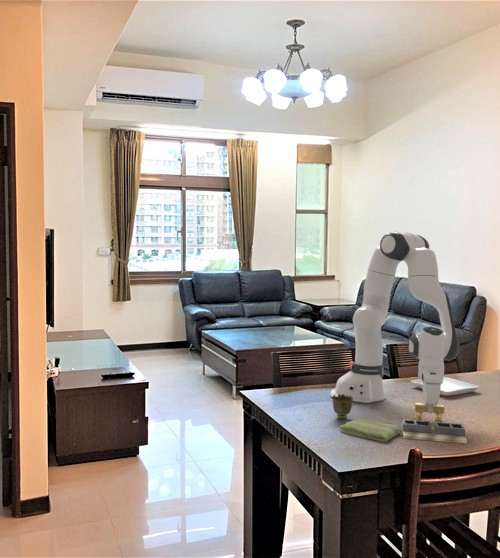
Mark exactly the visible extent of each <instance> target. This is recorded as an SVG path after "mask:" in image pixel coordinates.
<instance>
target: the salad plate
mask: <svg viewBox="0 0 500 558" xmlns="http://www.w3.org/2000/svg"><path fill="white" fill-rule="evenodd" d="M421 380H422V379H421V378H419V379H414V380H413V379H412V380H410V383H411V384H412V385H413V386H415V387H417V388H420V389H421V388H422V390H423V382H422V381H421ZM479 388H480V386H478V385H476V384H472V383H470V382H469V383H468V382H466V381H462V380H458V379H455V378H454V379H453V378H451V377H446V376H444V379H443V384H441V389H440V396H445V397H451V396H455V395H456V396H457V395H462V394H467V393H472V392H475V391H476V390H478V389H479Z"/></svg>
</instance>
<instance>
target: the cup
mask: <svg viewBox="0 0 500 558" xmlns="http://www.w3.org/2000/svg"><path fill="white" fill-rule="evenodd" d="M331 398H332V409H333V411H334V413H335V414H336V417H337V418H338V419H340V420H346V419H347V418H348V415H350V413H351V411H352V407H353V402H354V401H353V398H352V396H349V397H348V395H347V396H345V395H344V394H342V395H340V394H338V397H337V396H335V395H334V396H332V397H331Z"/></svg>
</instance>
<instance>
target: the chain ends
mask: <svg viewBox="0 0 500 558" xmlns="http://www.w3.org/2000/svg"><path fill="white" fill-rule="evenodd" d="M401 423H402V427H401V430H402V429H403V431H405V432H417V433H428V434H431V425H432V423H431V421H428V420H423V421H419V420H415V419H406V418H405V419H403V418H402V419H401ZM434 429H435V432H436V434H439V435H451V436H462V437H465V438H466V428H465V425H464V424H463V423H453V422H435V421H434Z"/></svg>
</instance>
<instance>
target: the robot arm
mask: <svg viewBox="0 0 500 558" xmlns="http://www.w3.org/2000/svg"><path fill="white" fill-rule="evenodd" d="M401 262H404V263H406V267H407V286H408V290H409V292H410V294H411V295H412V296H413V297H414V298H415V299H417V300H418V301H421V302H423V303H426V304H428V305H431V306H432V307H434V308H435V309H436V310H437V312H438V317H439V321H440V326H441V328H439V327H435V326H427V327H423V328H422V329H421V331H420V332H418V333H413V334H412V335H411V336H410V337H409V338H408V342H407V343H408V347H407V350H408V353H409V355H411V357H413V358H415V359H419V362H418V368H417V369H418V370H417V371H418V372H417V376H418V377H417V378H419V379H422V380H421V381H422V382H423V389H422V392H423V395H424V399H425V403H426V404H428V410H427V411H428V412H427V413H428V414H434V413H433V408H434V405H438V404H439V403H440V396H441V395H440V389H441V384H443V379H444V377H445V363H444V361H449V362H450V361H453V360H454V359H455V358H456V357H457V356H458V355H459V354H460V352H461V347H460V346H461V345H460V341H459V338H458V335H457V331H456V327H455V320H454V315H453V311H452V310H453V309H452V306H451V305H452V304H451V302H450V297H449V295H448V292H447V291H445V290H443V288H442V286H441V284H440V281H439V280H440V279H439V268H438V262H437V256H436V253H435V251H433V250H432V249H430V244H429V241H428V240H427V239H426V238H425V237H424V236H422V235H419V234H415V233H411V232H403V231H402V232H399V231H390V232H387V233H385V234H383V236H382V238H381V239H380V242H379V246H377V247H376V248H375V249H374V251H373V254H372V256H371V259H370V262H369V264H368V268H367V273H366V277H365V281H364V283H363V284H364V285H363V297H362V303H361V306H360V307H358V308H357V309H356V310H355V312H354V314H353V316H352V324H353V333H354V338H355V340H354V341H355V357H354V361H353V360H352V361H350V362H349V363H348V364H349V371H348V372H346V373H345V374H344V375H342V376H340V377H339V378H338V379H337V381H336V385H335V388H332V389H331V391H330V393H329V396H330V397H331V398H332V396H334V395H335V396H337V397H338V394H340V395H342V394H344V395H345V396H347V395H348V397H349V396H352V398H353V401H352V402H357V403H358V402H359V403H366V404H370V403H374V402H381V401H384V400H385V399H386V395H385V391H384V385H383V378H384V363H383V358H384V357H383V353H384V344H383V340H382V326H383V325H385V323H386V321H387V318H388V312H389V307H390V300H391V299H390V298H391V293H392V289H393V285H394V282H395V281H394V280H395V276H396V273H397V268H398V265H399V264H401Z"/></svg>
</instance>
